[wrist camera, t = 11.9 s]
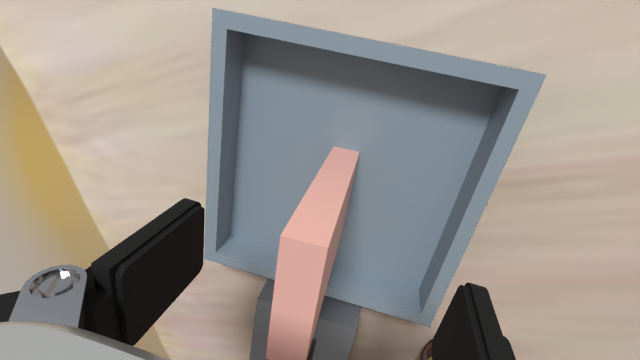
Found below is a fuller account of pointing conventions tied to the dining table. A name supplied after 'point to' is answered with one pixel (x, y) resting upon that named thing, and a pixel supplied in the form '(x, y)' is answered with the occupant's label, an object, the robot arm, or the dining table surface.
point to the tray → (362, 136)
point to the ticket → (309, 257)
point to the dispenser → (330, 330)
